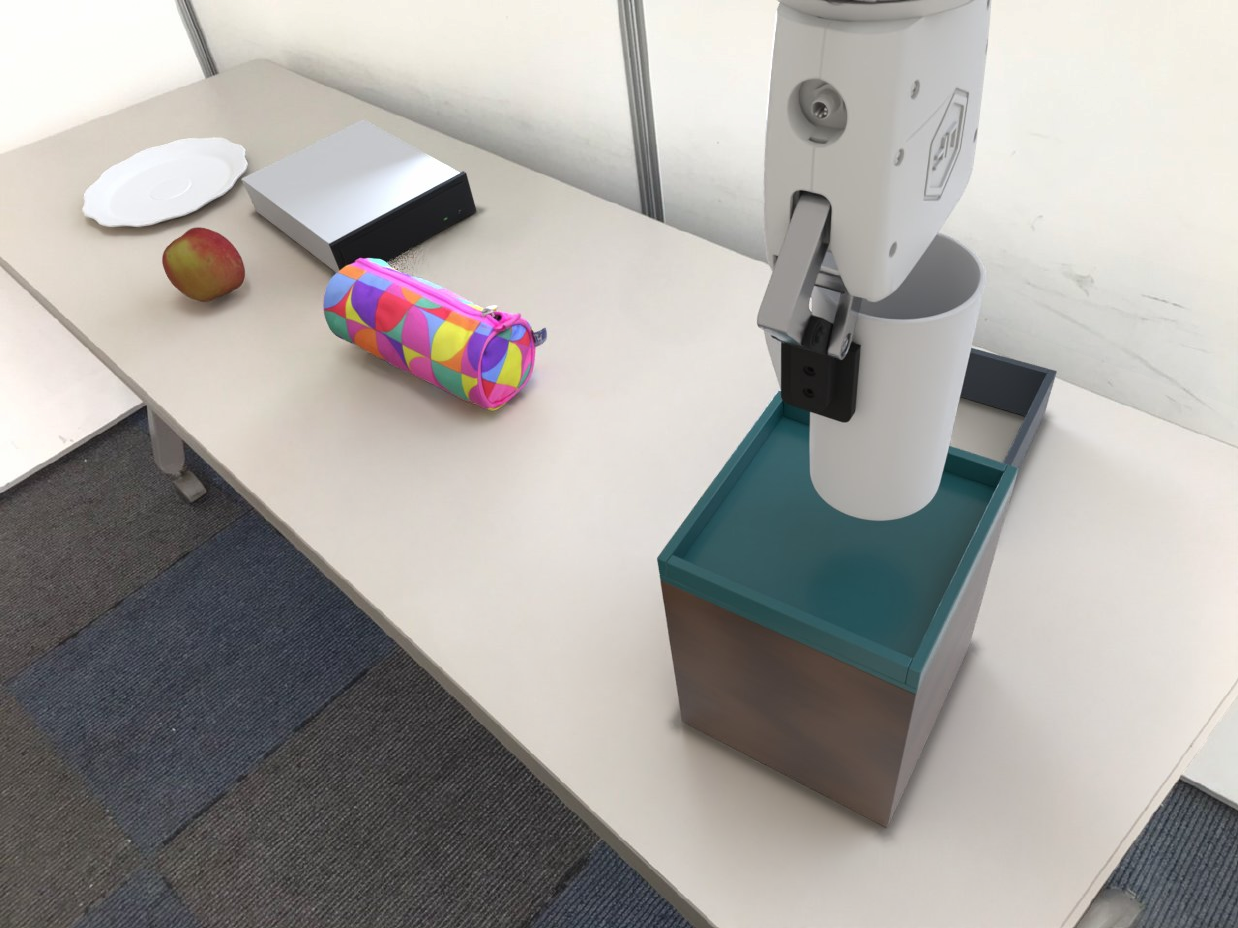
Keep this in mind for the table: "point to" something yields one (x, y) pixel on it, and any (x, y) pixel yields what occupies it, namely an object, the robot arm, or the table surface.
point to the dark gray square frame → (1010, 393)
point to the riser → (813, 698)
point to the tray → (835, 552)
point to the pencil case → (432, 332)
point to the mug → (898, 386)
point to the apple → (203, 264)
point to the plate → (164, 182)
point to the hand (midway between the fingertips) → (853, 354)
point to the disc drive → (360, 195)
